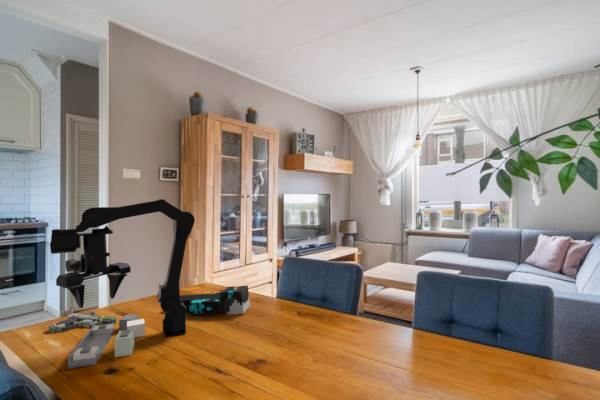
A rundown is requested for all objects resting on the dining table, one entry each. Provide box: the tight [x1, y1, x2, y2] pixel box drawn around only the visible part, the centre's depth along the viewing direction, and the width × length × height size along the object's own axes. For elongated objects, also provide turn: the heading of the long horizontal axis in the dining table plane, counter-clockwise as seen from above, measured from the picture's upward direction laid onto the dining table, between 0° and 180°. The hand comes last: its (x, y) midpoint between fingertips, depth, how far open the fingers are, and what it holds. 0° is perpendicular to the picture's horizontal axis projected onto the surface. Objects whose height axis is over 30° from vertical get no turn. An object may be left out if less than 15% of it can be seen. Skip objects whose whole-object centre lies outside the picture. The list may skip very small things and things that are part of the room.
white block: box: [118, 313, 139, 332], centre depth 110 cm, size 4×5×4 cm
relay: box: [127, 318, 146, 338], centre depth 105 cm, size 5×5×4 cm
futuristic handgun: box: [48, 311, 118, 334], centre depth 113 cm, size 3×19×15 cm
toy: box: [180, 285, 251, 315], centre depth 129 cm, size 15×8×30 cm
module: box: [114, 329, 136, 358], centre depth 94 cm, size 4×6×5 cm, turn 18°
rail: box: [67, 324, 115, 369], centre depth 96 cm, size 6×22×3 cm, turn 18°
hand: (97, 302), depth 96 cm, fingers open, 9 cm apart
